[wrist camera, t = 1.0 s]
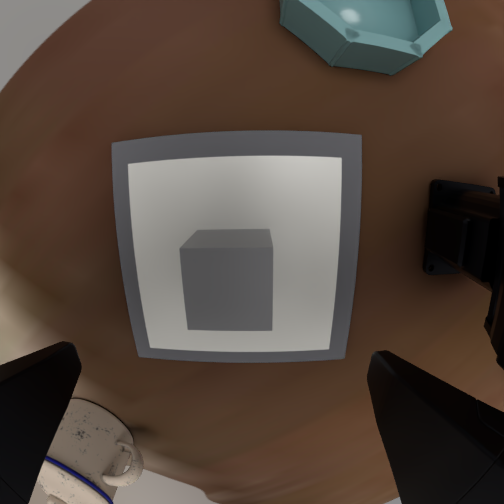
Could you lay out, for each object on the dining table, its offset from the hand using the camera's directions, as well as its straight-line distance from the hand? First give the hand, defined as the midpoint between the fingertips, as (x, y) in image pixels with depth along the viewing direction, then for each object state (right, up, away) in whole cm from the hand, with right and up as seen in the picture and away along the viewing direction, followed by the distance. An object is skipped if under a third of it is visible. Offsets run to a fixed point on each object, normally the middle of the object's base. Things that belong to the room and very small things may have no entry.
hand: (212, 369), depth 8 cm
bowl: (+8, +19, +6) cm, 22 cm away
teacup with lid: (-14, -15, +16) cm, 25 cm away
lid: (0, +3, +10) cm, 10 cm away
